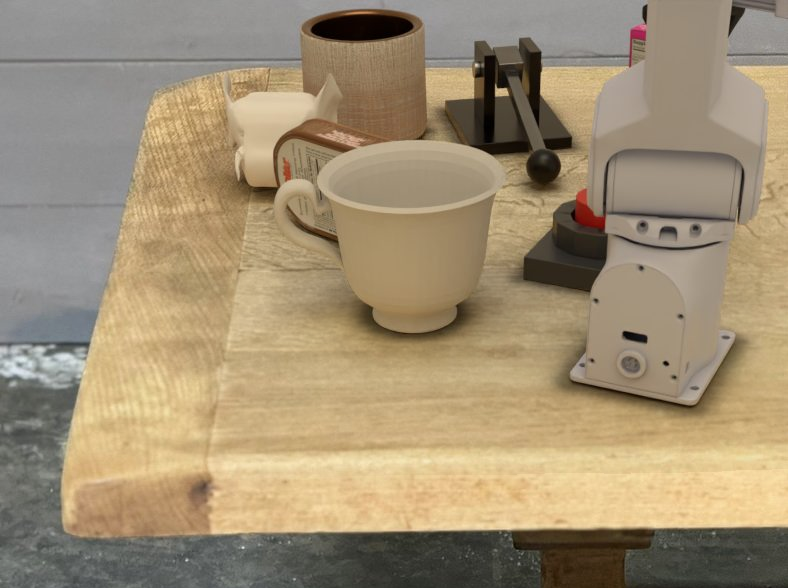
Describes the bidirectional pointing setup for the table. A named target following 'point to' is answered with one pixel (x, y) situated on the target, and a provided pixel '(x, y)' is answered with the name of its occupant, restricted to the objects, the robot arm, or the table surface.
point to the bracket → (504, 106)
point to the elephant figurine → (271, 124)
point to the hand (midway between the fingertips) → (684, 108)
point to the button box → (567, 252)
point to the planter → (370, 69)
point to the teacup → (404, 225)
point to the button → (587, 212)
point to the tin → (315, 164)
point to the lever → (525, 115)
